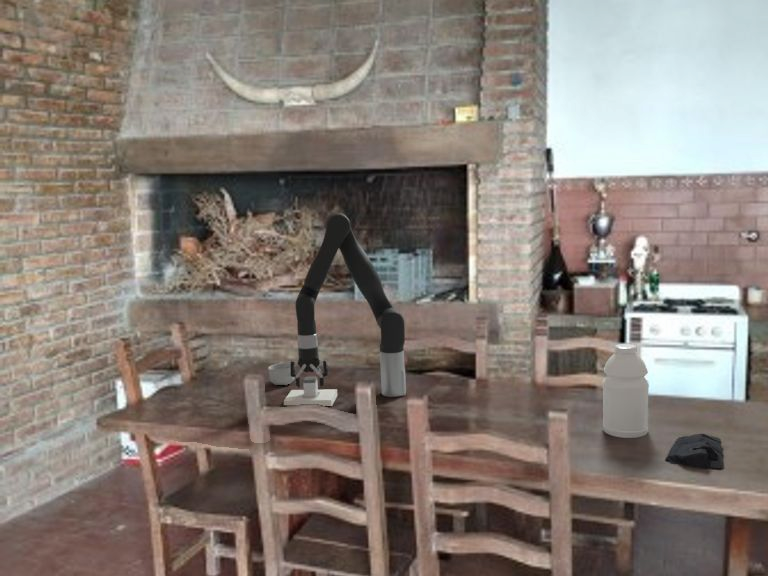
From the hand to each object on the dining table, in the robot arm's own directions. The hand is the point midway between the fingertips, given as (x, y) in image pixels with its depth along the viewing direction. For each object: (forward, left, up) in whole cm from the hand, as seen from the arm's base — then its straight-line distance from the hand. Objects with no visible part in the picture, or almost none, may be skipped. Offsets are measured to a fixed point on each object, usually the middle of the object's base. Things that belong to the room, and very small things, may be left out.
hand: (310, 387), depth 287 cm
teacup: (+17, -26, -6) cm, 32 cm away
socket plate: (0, 0, -6) cm, 6 cm away
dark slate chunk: (-125, +57, -6) cm, 137 cm away
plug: (0, 0, -6) cm, 6 cm away
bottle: (-109, +37, -6) cm, 115 cm away
